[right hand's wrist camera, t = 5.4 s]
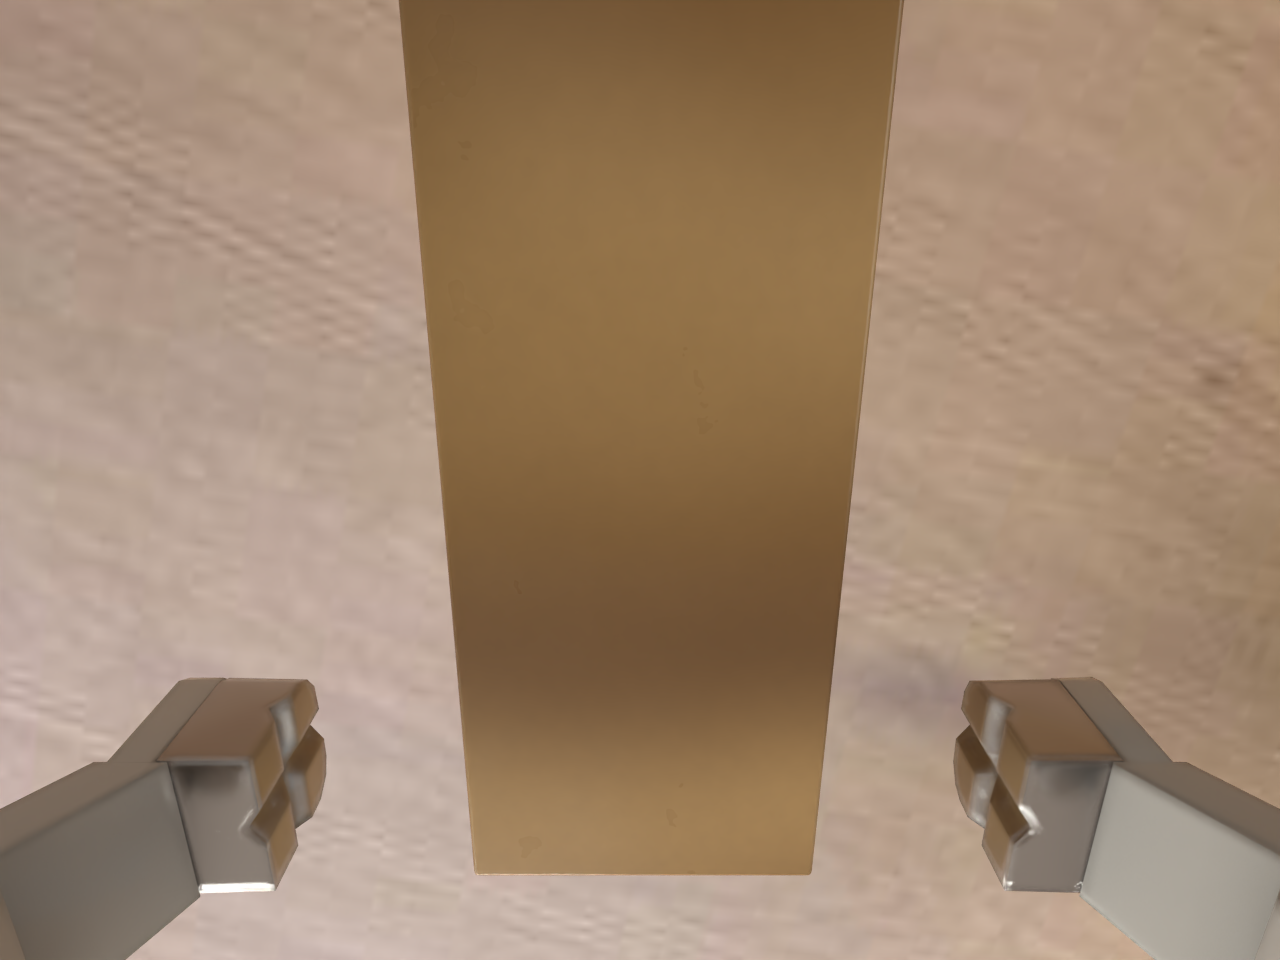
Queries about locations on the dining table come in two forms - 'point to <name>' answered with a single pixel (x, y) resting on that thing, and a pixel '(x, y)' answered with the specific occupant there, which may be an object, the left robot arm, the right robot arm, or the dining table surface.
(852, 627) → the dining table surface
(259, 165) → the dining table surface
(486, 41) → the bar
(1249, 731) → the dining table surface
